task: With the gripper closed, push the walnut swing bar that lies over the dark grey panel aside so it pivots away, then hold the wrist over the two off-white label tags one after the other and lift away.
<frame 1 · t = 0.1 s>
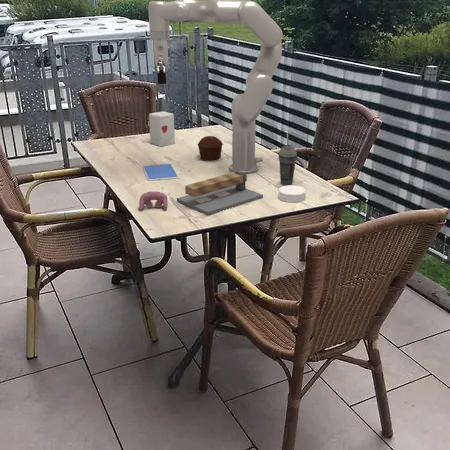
hand: (161, 81, 218), 37 cm above the table, tool pointing down, fingers open, 9 cm apart
swing bar: (218, 183, 201), point 6 cm above the table, hinge at 0.0°
muffin: (210, 159, 251), on the table
video game controller: (153, 209, 195), on the table
white round container: (291, 198, 204), on the table
supplement box: (162, 144, 276), on the table
label panel: (220, 199, 203), on the table
tablet computer: (160, 174, 233), on the table
beverage cup: (286, 184, 219), on the table
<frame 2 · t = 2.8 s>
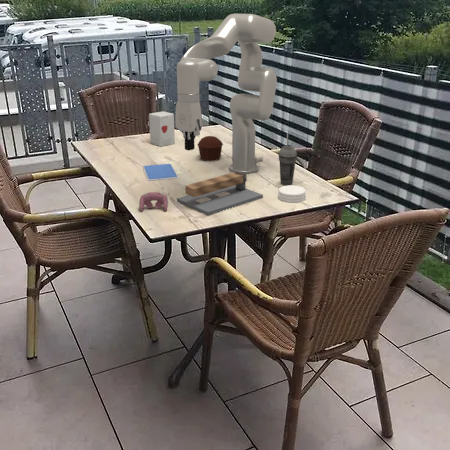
hand: (189, 149, 200), 18 cm above the table, tool pointing down, fingers closed
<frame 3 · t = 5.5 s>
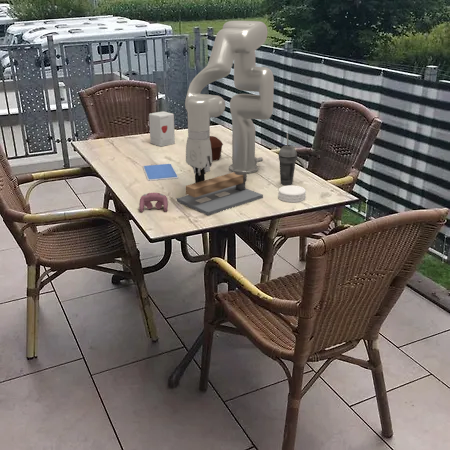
hand: (200, 184, 201), 6 cm above the table, tool pointing down, fingers closed
swing bar: (218, 183, 201), point 6 cm above the table, hinge at 0.5°, touching gripper
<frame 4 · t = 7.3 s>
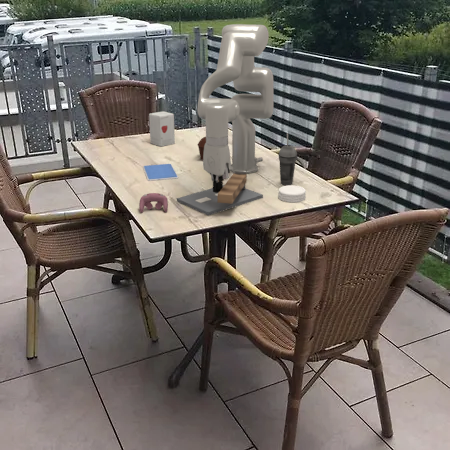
hand: (217, 191, 195), 5 cm above the table, tool pointing down, fingers closed
swing bar: (233, 186, 198), point 6 cm above the table, hinge at 34.8°, touching gripper
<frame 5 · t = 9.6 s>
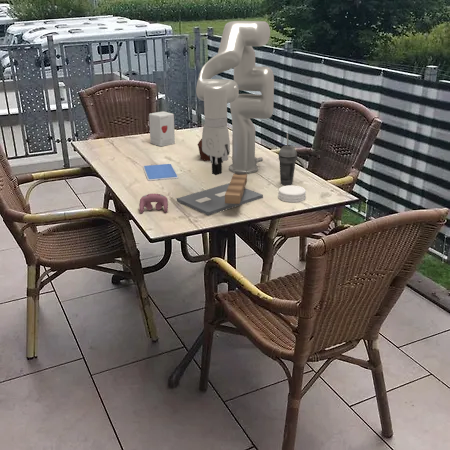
hand: (216, 173, 193), 12 cm above the table, tool pointing down, fingers closed
swing bar: (237, 186, 198), point 6 cm above the table, hinge at 40.9°
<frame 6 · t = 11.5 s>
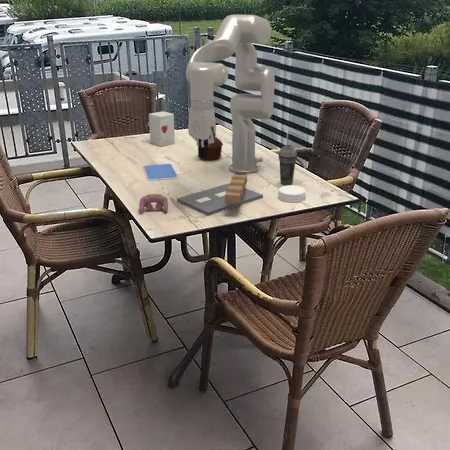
hand: (203, 157, 193), 17 cm above the table, tool pointing down, fingers closed
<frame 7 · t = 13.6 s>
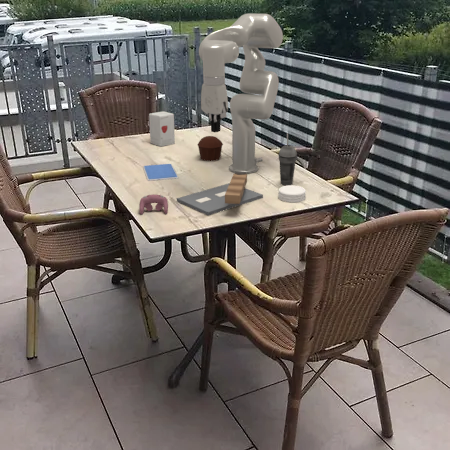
hand: (215, 131, 203), 23 cm above the table, tool pointing down, fingers closed
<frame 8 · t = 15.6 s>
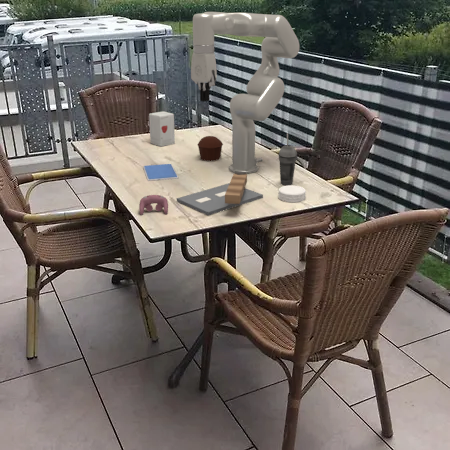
hand: (204, 100, 209), 32 cm above the table, tool pointing down, fingers closed
at the end: swing bar at +41° (first picture: +0°) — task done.
